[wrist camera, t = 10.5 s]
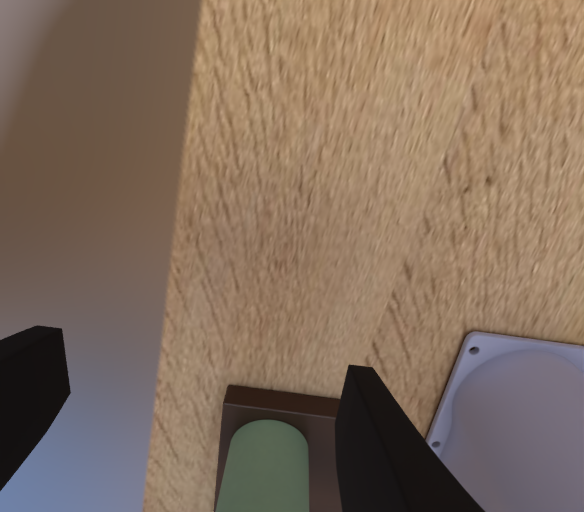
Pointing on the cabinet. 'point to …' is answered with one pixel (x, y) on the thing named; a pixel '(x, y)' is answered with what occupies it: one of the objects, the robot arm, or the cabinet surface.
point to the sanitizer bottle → (266, 470)
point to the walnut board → (300, 414)
